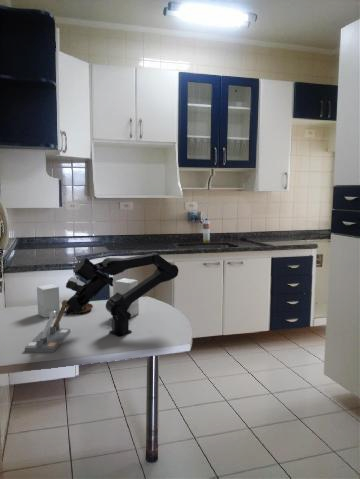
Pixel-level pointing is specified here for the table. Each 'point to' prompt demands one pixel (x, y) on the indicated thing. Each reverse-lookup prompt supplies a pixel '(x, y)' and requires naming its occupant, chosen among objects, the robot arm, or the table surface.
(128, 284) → the skincare box
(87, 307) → the cup and saucer
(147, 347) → the table surface
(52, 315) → the steel lever
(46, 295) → the supplement box
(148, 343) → the table surface
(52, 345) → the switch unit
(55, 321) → the walnut lever
